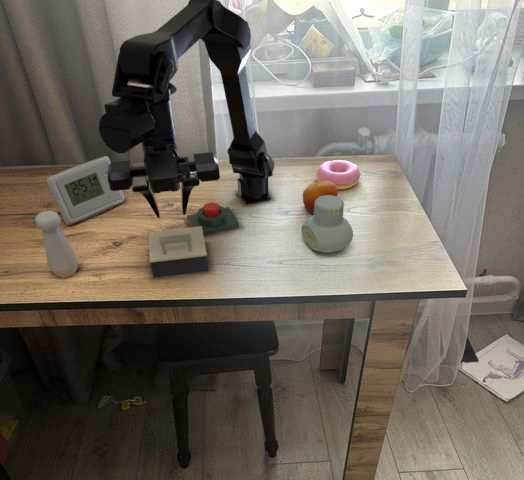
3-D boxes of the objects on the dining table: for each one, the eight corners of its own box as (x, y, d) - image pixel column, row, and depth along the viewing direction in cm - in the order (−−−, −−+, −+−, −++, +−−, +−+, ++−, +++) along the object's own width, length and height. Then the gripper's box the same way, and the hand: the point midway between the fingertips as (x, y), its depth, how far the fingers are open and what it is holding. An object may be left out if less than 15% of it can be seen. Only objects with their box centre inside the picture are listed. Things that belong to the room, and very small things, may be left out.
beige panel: (206, 255, 98) (204, 237, 96) (150, 262, 97) (146, 244, 94) (201, 228, 106) (199, 210, 103) (149, 234, 105) (145, 216, 102)
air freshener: (297, 237, 110) (298, 194, 103) (330, 227, 112) (333, 185, 105) (321, 262, 103) (324, 219, 96) (356, 252, 105) (361, 209, 98)
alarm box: (228, 211, 119) (227, 199, 117) (239, 228, 113) (238, 216, 111) (187, 219, 116) (185, 208, 114) (196, 237, 111) (194, 225, 109)
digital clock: (65, 229, 115) (51, 186, 107) (52, 211, 120) (38, 169, 112) (131, 208, 121) (123, 166, 113) (116, 192, 126) (107, 151, 118)
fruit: (319, 219, 112) (310, 183, 110) (302, 222, 119) (294, 188, 117) (349, 210, 115) (341, 174, 112) (331, 213, 122) (323, 180, 120)
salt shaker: (55, 264, 105) (33, 207, 96) (82, 262, 105) (64, 205, 96) (49, 281, 101) (26, 223, 91) (78, 279, 101) (58, 221, 92)
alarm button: (217, 208, 115) (216, 201, 113) (222, 215, 112) (221, 208, 111) (202, 211, 114) (201, 204, 113) (206, 218, 111) (205, 211, 110)
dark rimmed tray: (208, 271, 102) (206, 254, 99) (153, 278, 100) (150, 261, 98) (204, 244, 109) (202, 228, 106) (152, 250, 108) (149, 234, 105)
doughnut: (320, 170, 133) (321, 154, 130) (362, 174, 130) (364, 158, 128) (311, 189, 125) (312, 173, 122) (356, 194, 123) (358, 178, 120)
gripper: (95, 155, 76) (119, 244, 87) (219, 143, 78) (227, 232, 89) (99, 127, 83) (120, 212, 94) (212, 117, 86) (219, 202, 96)
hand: (171, 215), depth 93 cm, fingers open, 4 cm apart
